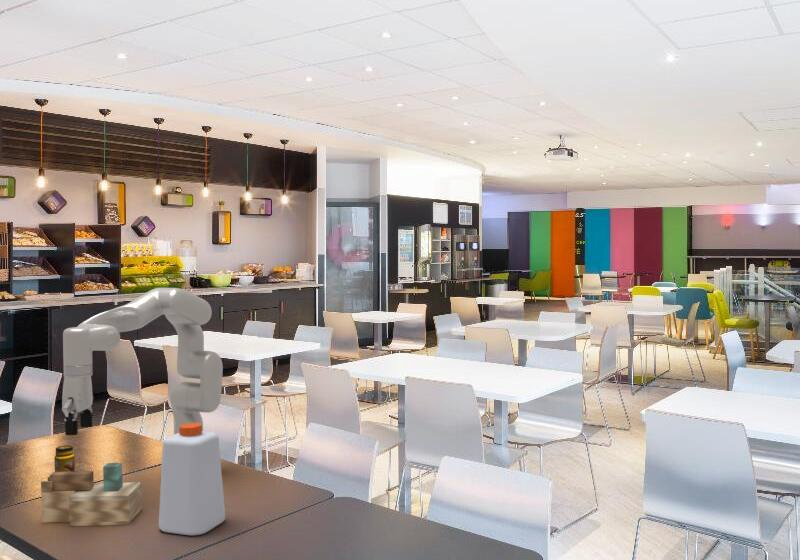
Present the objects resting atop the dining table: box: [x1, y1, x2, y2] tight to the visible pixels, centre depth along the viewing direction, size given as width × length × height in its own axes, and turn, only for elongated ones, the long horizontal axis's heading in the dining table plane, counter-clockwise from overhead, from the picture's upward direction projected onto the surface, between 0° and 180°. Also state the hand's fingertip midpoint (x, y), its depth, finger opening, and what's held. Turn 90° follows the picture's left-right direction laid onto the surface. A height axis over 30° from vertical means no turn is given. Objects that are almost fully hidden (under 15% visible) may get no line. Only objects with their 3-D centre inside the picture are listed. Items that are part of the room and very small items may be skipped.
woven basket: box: [40, 476, 142, 527], centre depth 210 cm, size 25×12×12 cm, turn 93°
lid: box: [69, 462, 142, 501], centre depth 210 cm, size 16×12×10 cm
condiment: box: [54, 445, 76, 472], centre depth 243 cm, size 7×8×12 cm
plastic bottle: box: [158, 423, 226, 537], centre depth 203 cm, size 15×15×28 cm
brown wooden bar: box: [49, 470, 95, 491], centre depth 210 cm, size 11×3×4 cm, turn 93°
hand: (79, 430), depth 210 cm, fingers open, 9 cm apart
